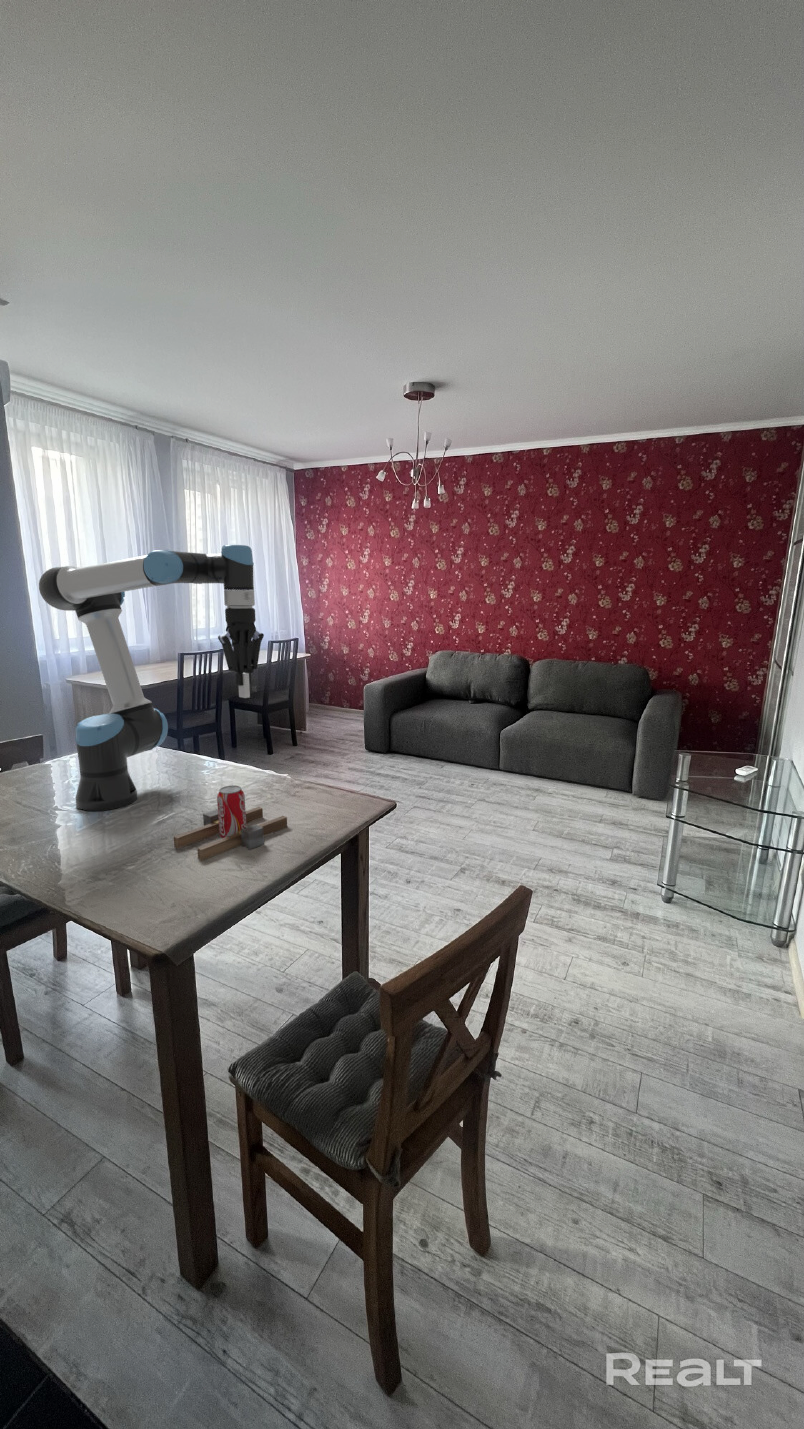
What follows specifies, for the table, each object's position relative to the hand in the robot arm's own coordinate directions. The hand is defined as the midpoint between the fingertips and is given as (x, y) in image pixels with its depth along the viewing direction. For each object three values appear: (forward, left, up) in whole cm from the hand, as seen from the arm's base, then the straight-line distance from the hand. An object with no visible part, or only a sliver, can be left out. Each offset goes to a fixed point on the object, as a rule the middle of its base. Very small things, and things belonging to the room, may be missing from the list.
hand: (244, 697), depth 157 cm
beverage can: (+16, -17, -30) cm, 38 cm away
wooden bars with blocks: (+16, -17, -29) cm, 38 cm away
